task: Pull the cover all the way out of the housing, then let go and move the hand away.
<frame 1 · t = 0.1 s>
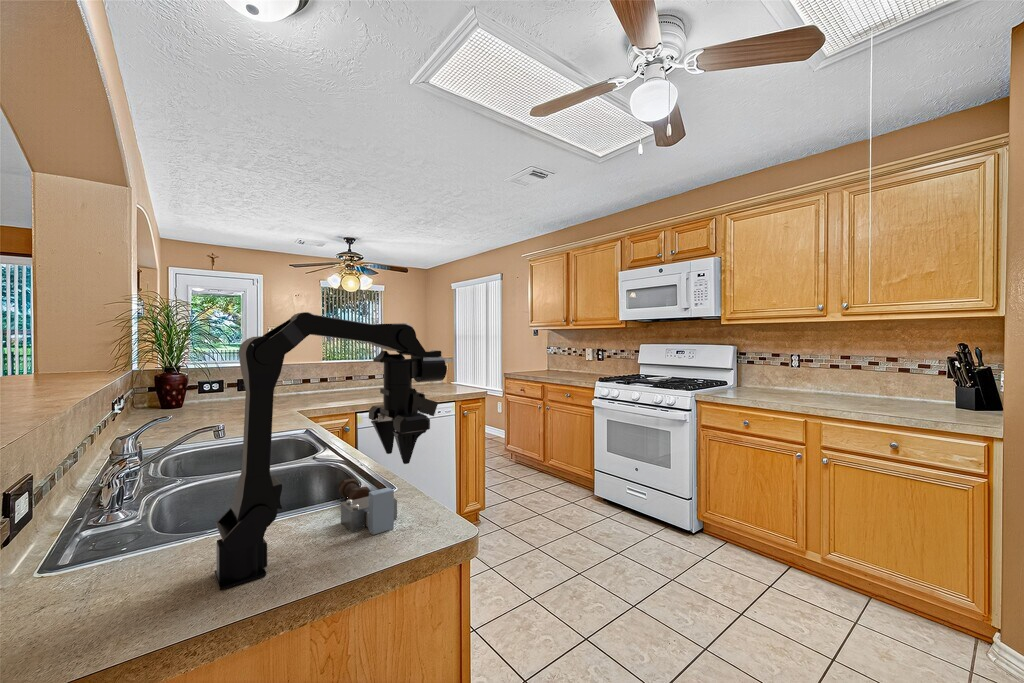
hand: (397, 458, 90), 14 cm above the counter, tool pointing down, fingers open, 9 cm apart
brown lumpy shape: (353, 502, 105), on the counter
housing: (369, 520, 94), on the counter
cover: (374, 505, 92), point 4 cm above the counter, slide at 0.0 cm
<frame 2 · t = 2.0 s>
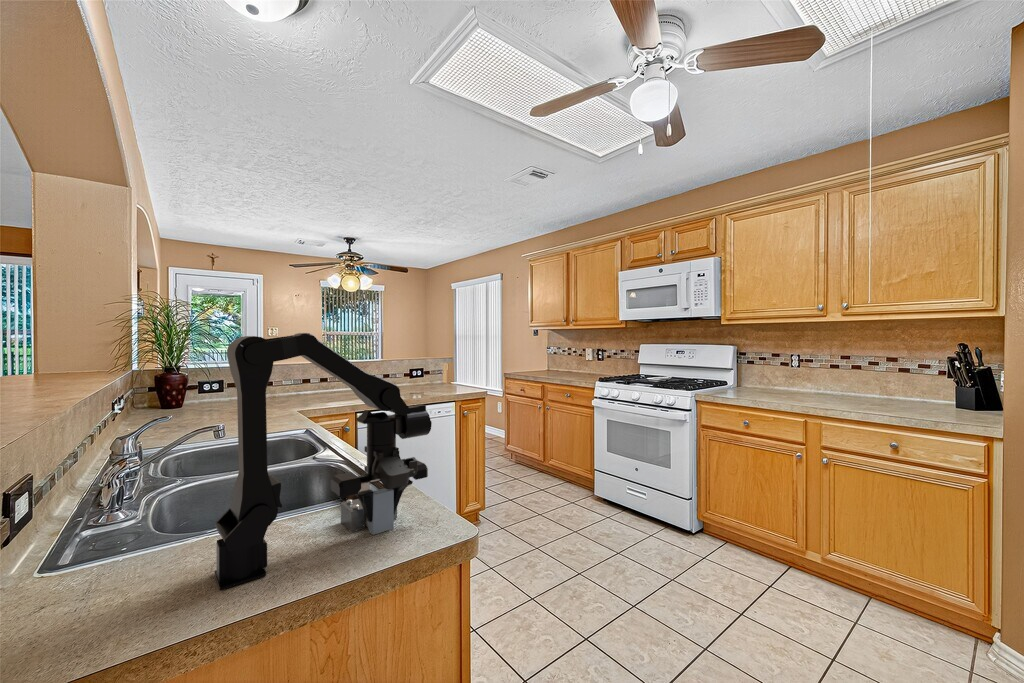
hand: (381, 518, 89), 3 cm above the counter, tool pointing down, fingers closed on cover, 4 cm apart
cover: (374, 505, 92), point 4 cm above the counter, slide at 0.0 cm, touching gripper
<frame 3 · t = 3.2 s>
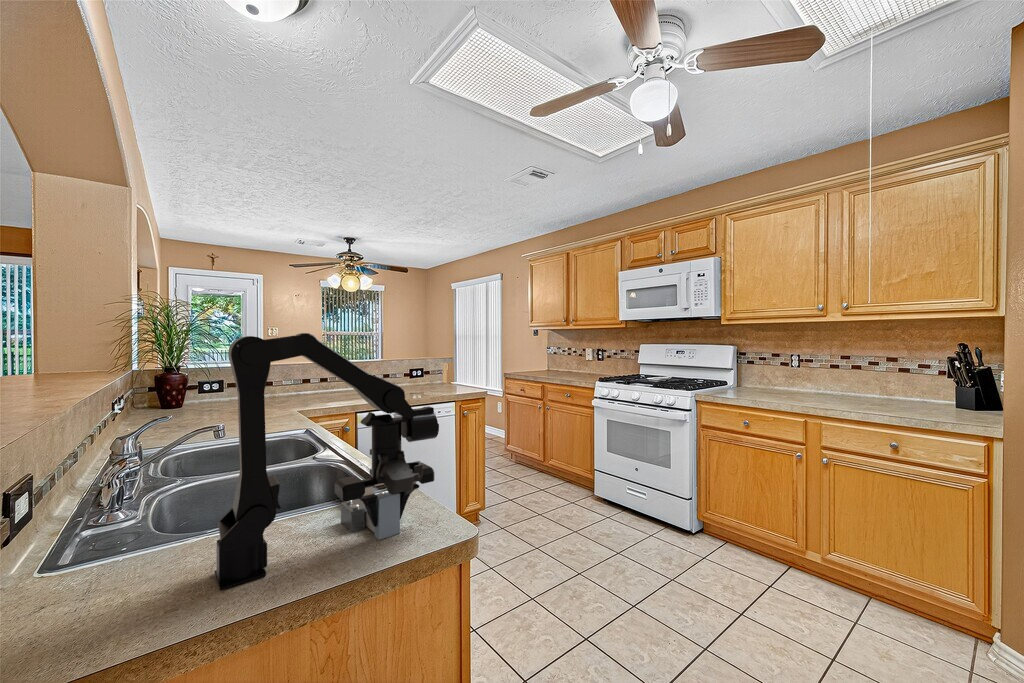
hand: (386, 522, 87), 2 cm above the counter, tool pointing down, fingers closed on cover, 5 cm apart
cover: (380, 509, 89), point 4 cm above the counter, slide at 2.8 cm, touching gripper
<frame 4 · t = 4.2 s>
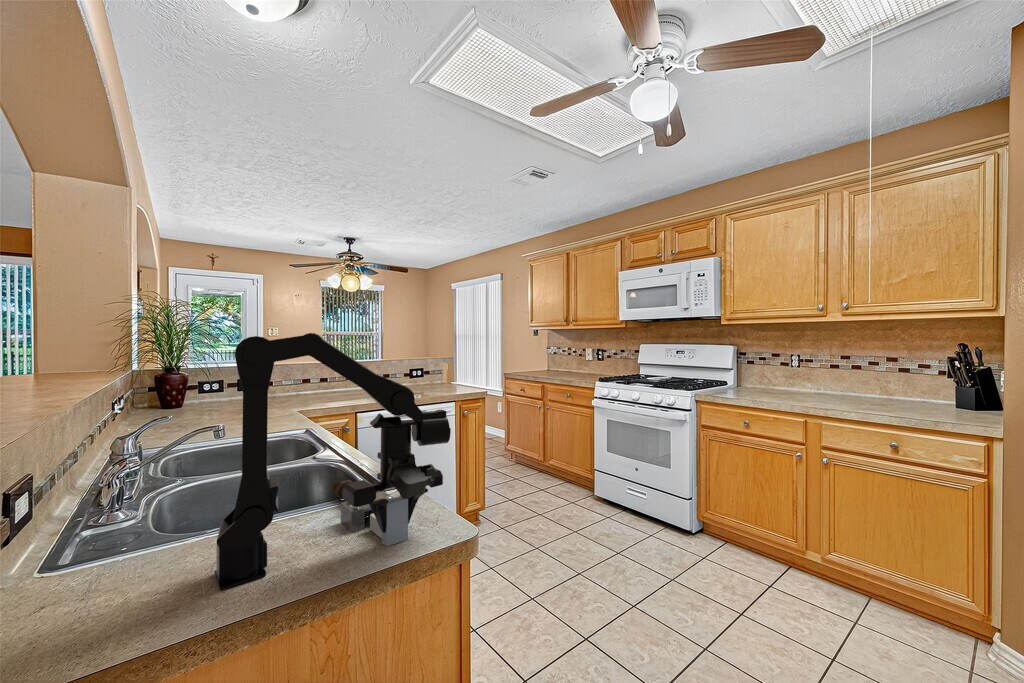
hand: (394, 528, 84), 2 cm above the counter, tool pointing down, fingers closed on cover, 4 cm apart
cover: (387, 514, 87), point 4 cm above the counter, slide at 6.3 cm, touching gripper
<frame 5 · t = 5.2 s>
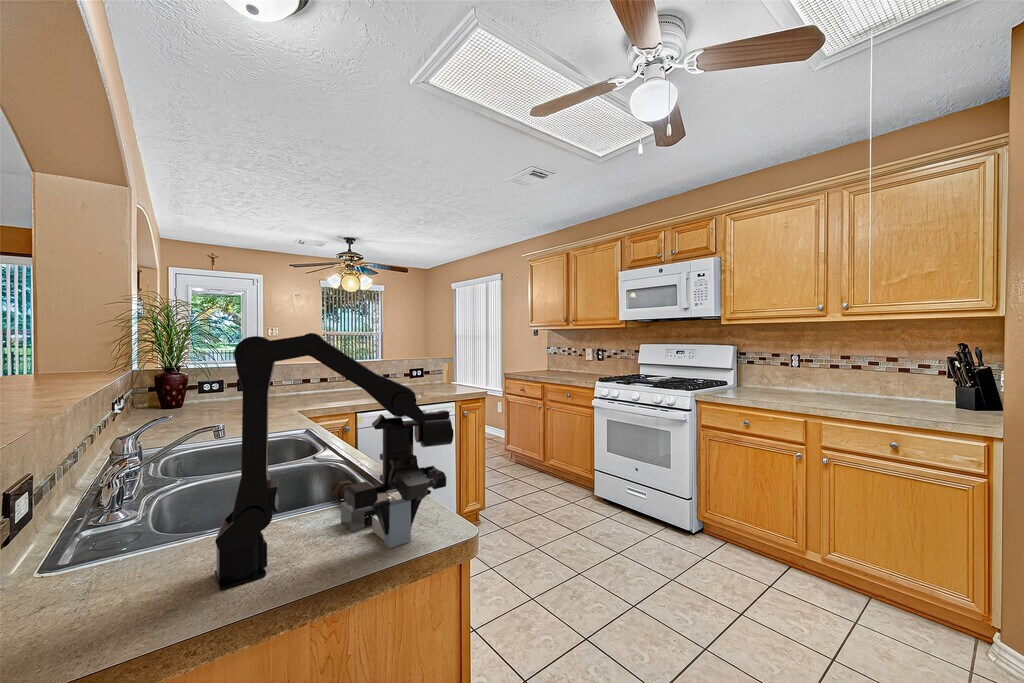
hand: (397, 530, 83), 3 cm above the counter, tool pointing down, fingers closed on cover, 4 cm apart
cover: (390, 516, 86), point 4 cm above the counter, slide at 7.4 cm, touching gripper
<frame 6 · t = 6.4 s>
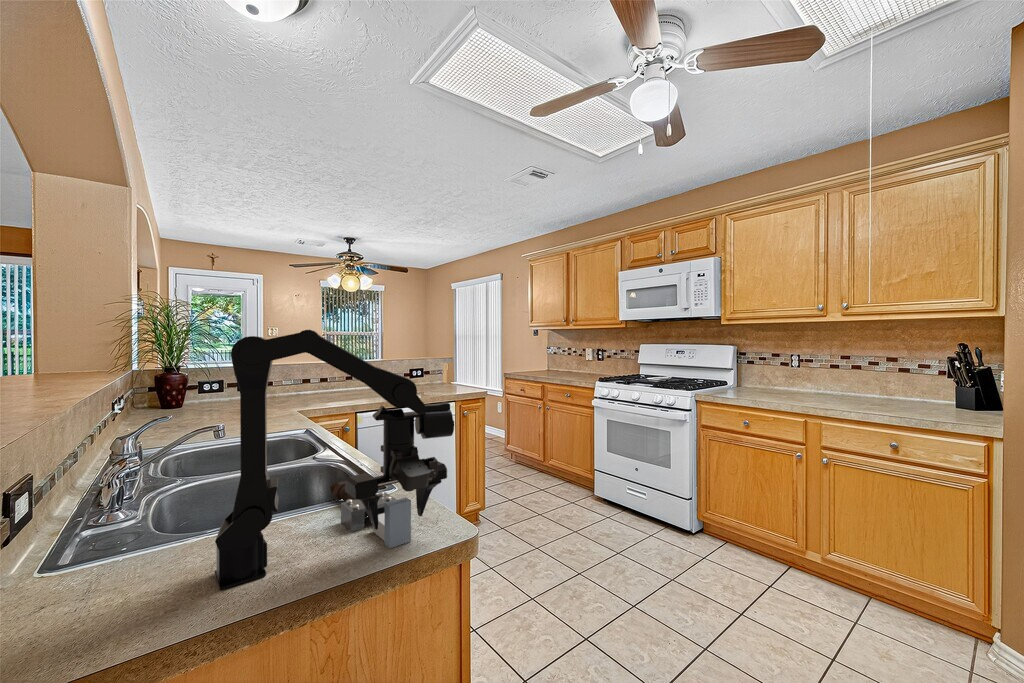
hand: (398, 521, 83), 4 cm above the counter, tool pointing down, fingers open, 9 cm apart
cover: (390, 516, 86), point 4 cm above the counter, slide at 7.4 cm
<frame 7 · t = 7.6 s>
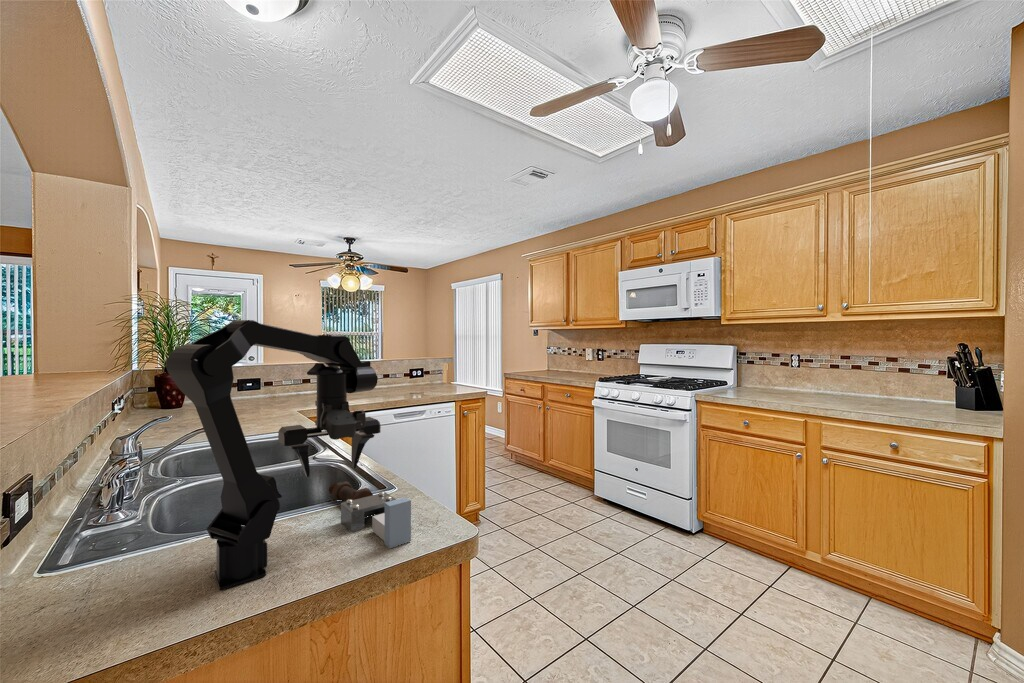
hand: (331, 472, 89), 12 cm above the counter, tool pointing down, fingers open, 9 cm apart
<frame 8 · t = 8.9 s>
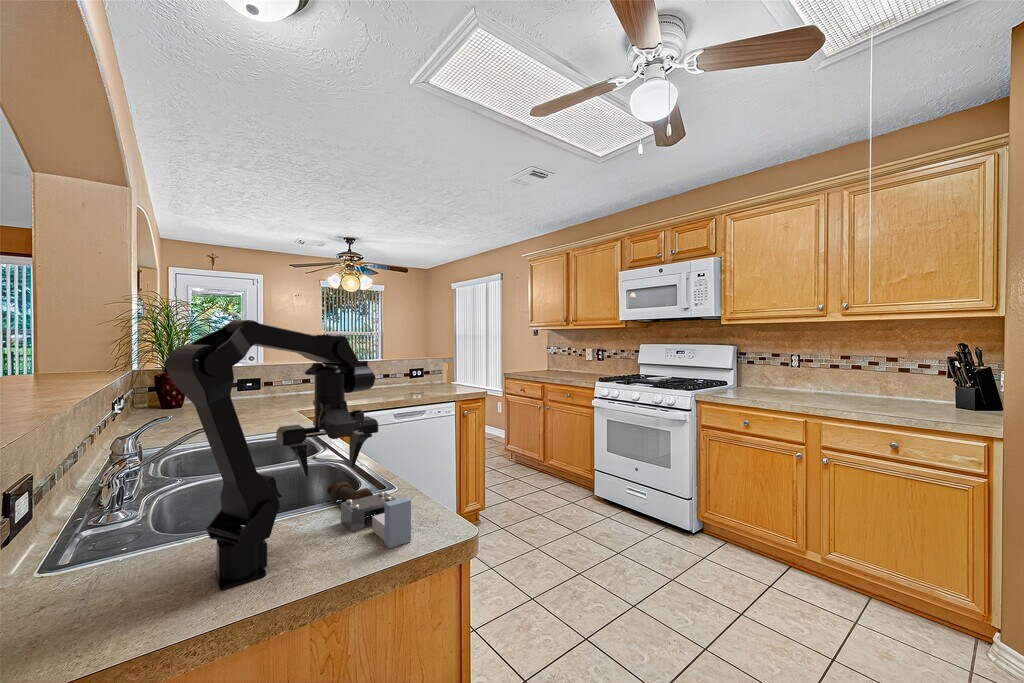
hand: (329, 471, 89), 12 cm above the counter, tool pointing down, fingers open, 9 cm apart
at the end: cover slide at 7.4 cm; the gripper is holding nothing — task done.
